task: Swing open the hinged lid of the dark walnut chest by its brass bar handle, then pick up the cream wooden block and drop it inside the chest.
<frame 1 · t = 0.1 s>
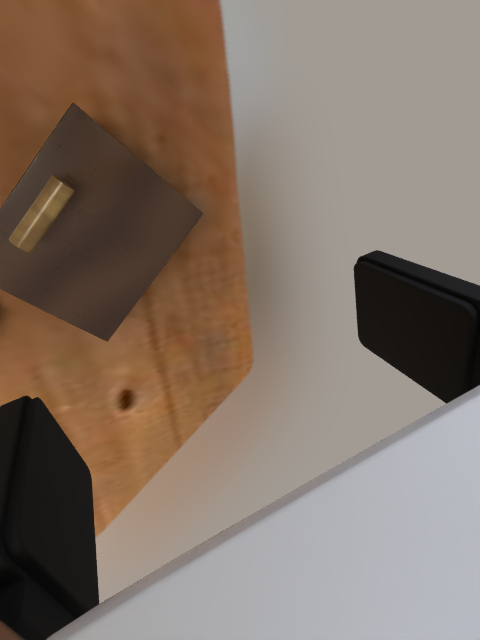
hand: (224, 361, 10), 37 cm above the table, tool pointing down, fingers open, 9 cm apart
lid: (93, 243, 32), point 11 cm above the table, hinge at 0.0°
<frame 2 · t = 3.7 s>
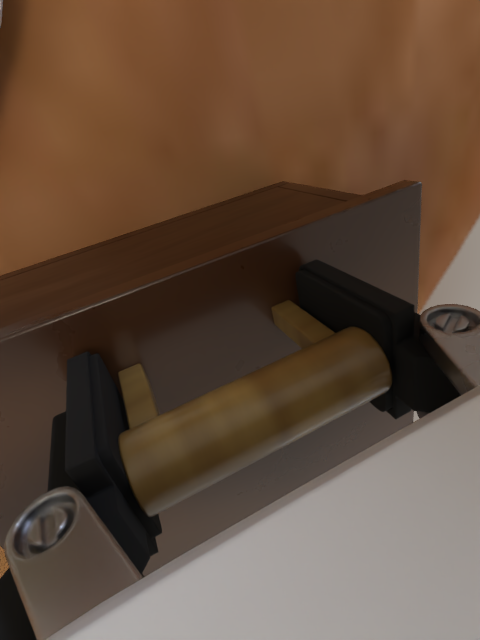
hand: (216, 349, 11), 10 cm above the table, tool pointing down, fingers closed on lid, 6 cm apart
lid: (263, 474, 12), point 11 cm above the table, hinge at 0.0°, touching gripper
chest: (180, 333, 22), on the table
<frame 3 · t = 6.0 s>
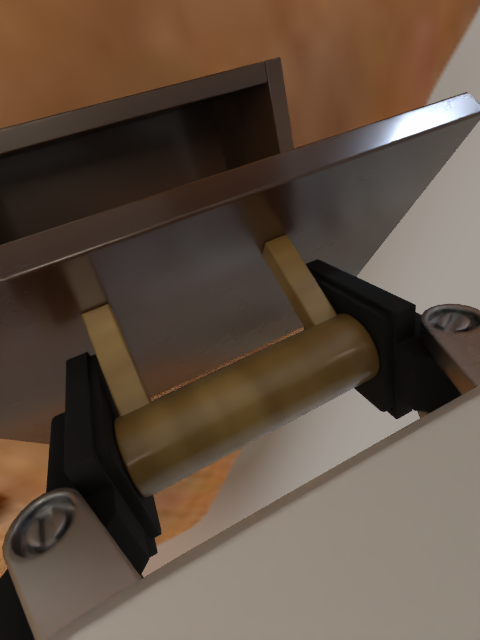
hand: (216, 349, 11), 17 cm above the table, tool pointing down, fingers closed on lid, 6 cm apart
lid: (217, 375, 13), point 15 cm above the table, hinge at 40.9°, touching gripper
chest: (129, 226, 25), on the table
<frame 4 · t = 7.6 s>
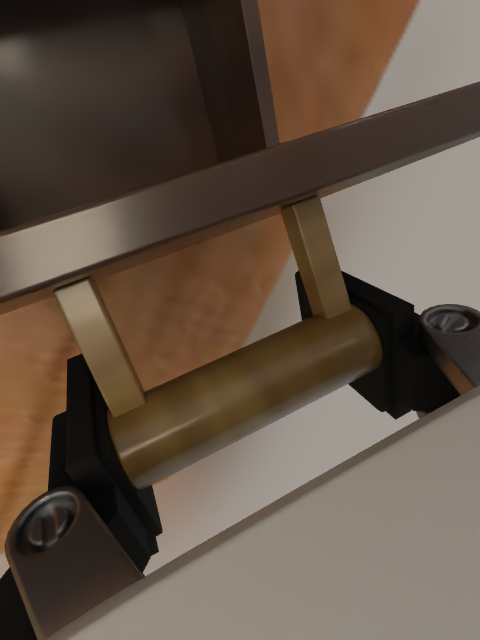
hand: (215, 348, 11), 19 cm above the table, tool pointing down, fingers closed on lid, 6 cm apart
lid: (190, 303, 12), point 17 cm above the table, hinge at 71.9°, touching gripper
chest: (86, 117, 22), on the table
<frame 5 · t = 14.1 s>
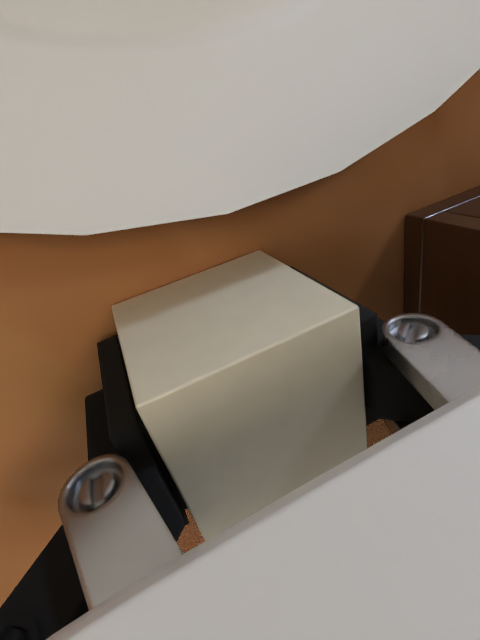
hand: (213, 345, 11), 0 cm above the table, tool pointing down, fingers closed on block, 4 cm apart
block: (209, 339, 11), on the table, touching gripper
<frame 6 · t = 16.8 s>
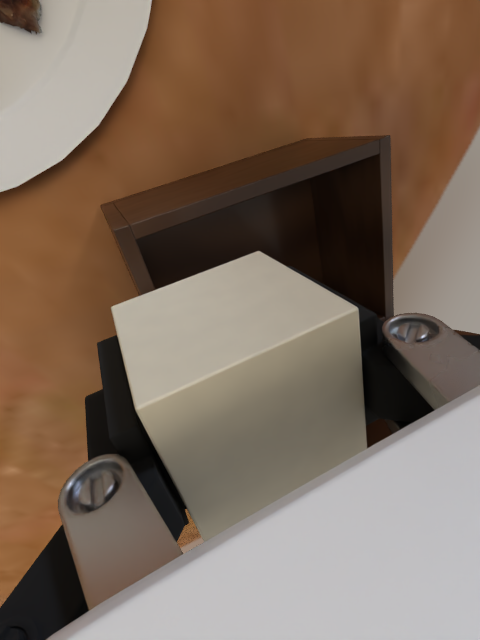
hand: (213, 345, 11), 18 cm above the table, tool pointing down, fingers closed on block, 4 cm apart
lid: (379, 440, 19), point 17 cm above the table, hinge at 72.3°
block: (209, 340, 11), point 18 cm above the table, touching gripper
chest: (233, 252, 30), on the table
when the fingers open (10 cm above the table, at t = 19.8 s): block drops 9 cm, resting on chest.
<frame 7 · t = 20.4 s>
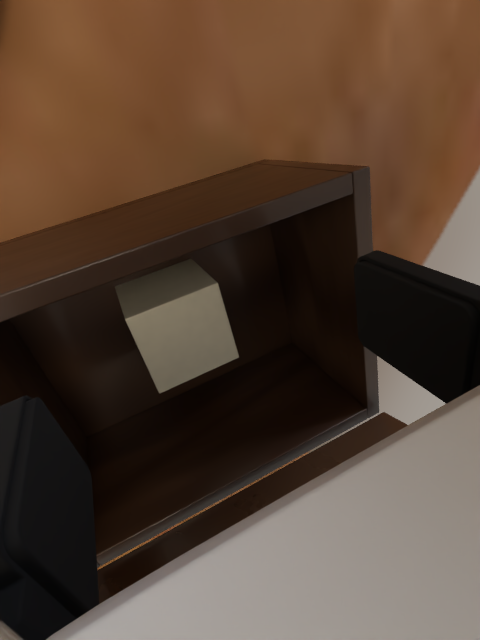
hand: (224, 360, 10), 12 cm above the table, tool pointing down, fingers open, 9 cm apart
block: (167, 306, 21), point 1 cm above the table, touching chest
chest: (166, 309, 22), on the table
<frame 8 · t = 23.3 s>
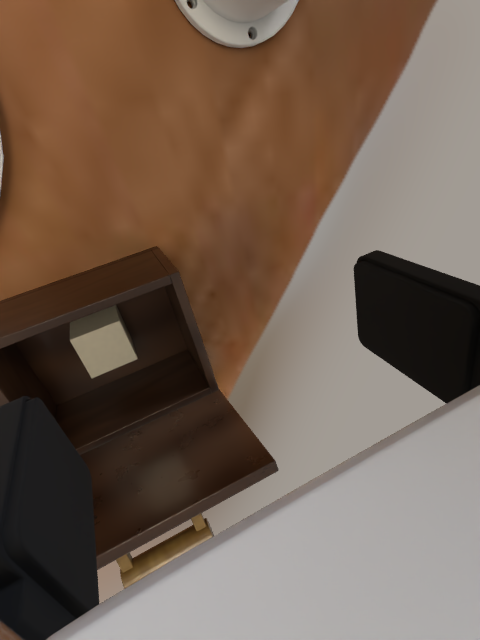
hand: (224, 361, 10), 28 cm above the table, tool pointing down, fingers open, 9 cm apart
lid: (154, 494, 27), point 17 cm above the table, hinge at 72.3°
block: (101, 329, 37), point 1 cm above the table, touching chest
chest: (103, 330, 38), on the table
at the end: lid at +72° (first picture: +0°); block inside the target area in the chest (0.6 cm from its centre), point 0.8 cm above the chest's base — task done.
